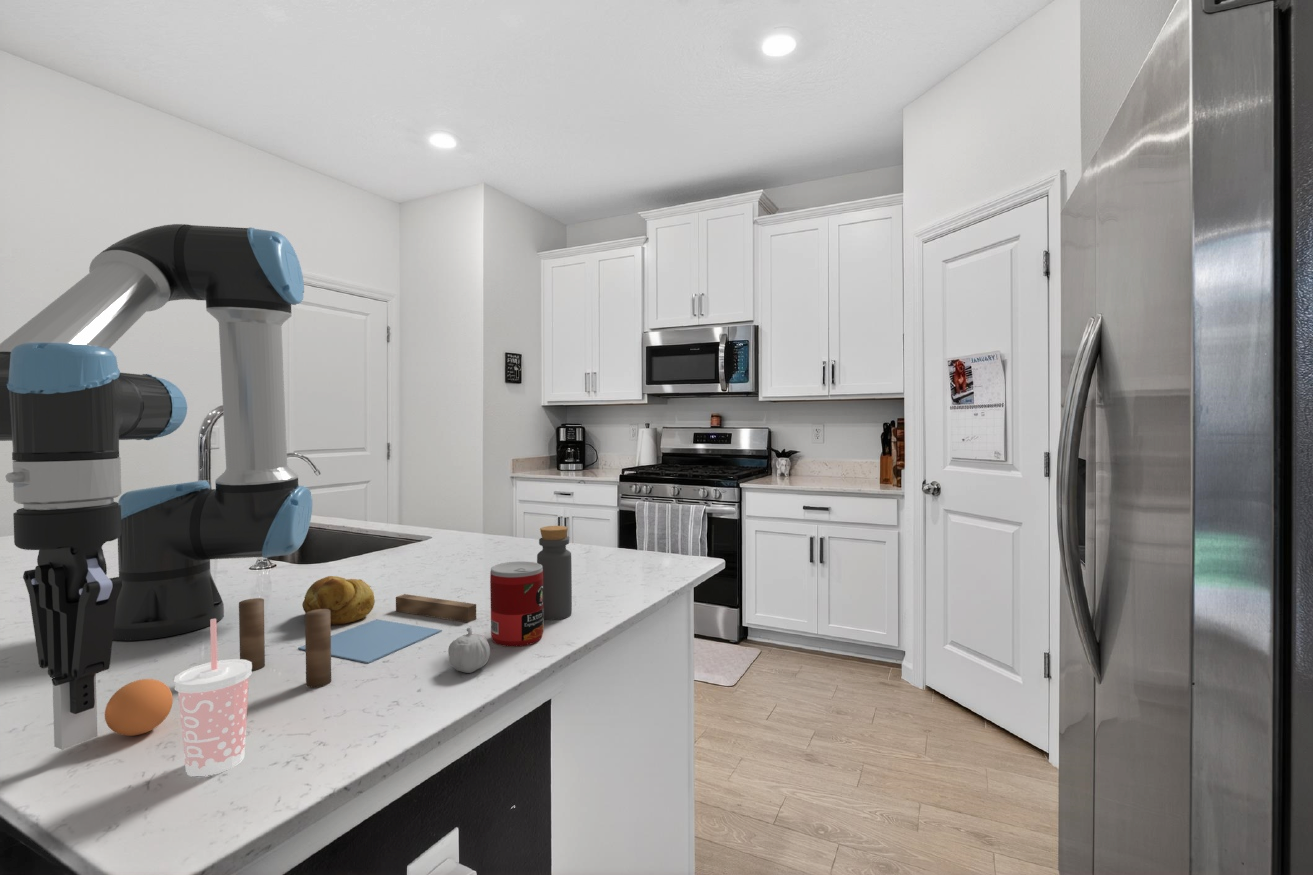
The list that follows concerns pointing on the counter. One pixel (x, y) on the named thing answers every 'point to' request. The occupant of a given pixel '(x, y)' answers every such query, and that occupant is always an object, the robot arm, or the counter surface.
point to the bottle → (556, 572)
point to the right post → (318, 647)
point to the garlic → (469, 652)
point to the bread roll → (340, 599)
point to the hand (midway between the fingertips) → (76, 741)
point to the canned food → (516, 603)
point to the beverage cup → (213, 712)
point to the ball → (138, 707)
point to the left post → (252, 632)
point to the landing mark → (376, 640)
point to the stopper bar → (436, 607)
